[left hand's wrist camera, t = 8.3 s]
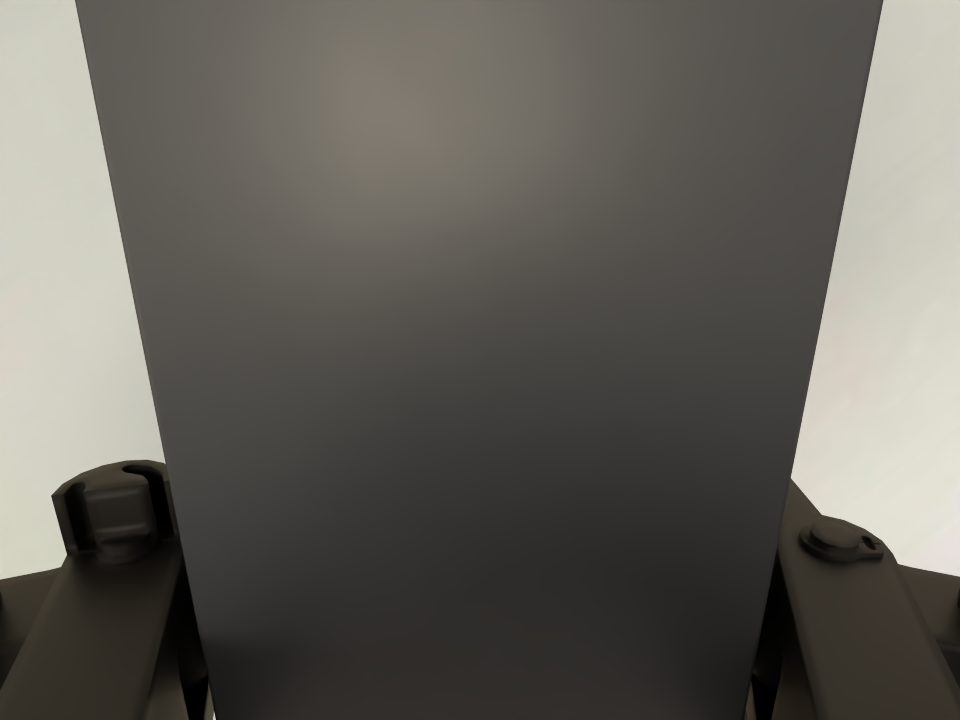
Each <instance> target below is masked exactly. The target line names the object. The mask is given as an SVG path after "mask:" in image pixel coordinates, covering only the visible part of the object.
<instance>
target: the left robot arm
mask: <svg viewBox="0 0 960 720" xmlns="http://www.w3.org/2000/svg"><path fill="white" fill-rule="evenodd" d="M51 497H52V500H53V504H54V508H55V512H56V515H57V519H58V523H59V526H60V530H61V534H62V537H63V541H64V545H65V548H66V552H67V556H66V558H65V560H64V562H63V564H62V566H61V567H60V568H56V569H52V570H48V571H43V572H37V573H32V574H27V575H22V576H17V577H12V578H7V579H2V580H0V720H213V715H214V707H213V702H212V697H211V692H210V687H209V682H208V677H207V671H206V666H205V661H204V656H203V651H202V646H201V641H200V636H199V631H198V625H197V620H196V615H195V610H194V605H193V600H192V595H191V590H190V585H189V579H188V574H187V569H186V564H185V559H184V554H183V549H182V544H181V539H180V533H179V528H178V523H177V518H176V513H175V508H174V503H173V498H172V493H171V487H170V482H169V477H168V472H167V467H166V464H164V463H161V462H156V461H150V460H130V461H122V462H117V463H112V464H107V465H103V466H100V467H97V468H95V469H92V470H89V471H86V472H83V473H81V474H79V475H77V476H76V477H74V478H72V479H70V480H69V481H67V482H65V483H64V484H62V485H61V486H60V487H59V488H58V489H57V490H56V491H55V492H54V493H53V494H52V495H51ZM744 720H960V577H958V576H953V575H948V574H943V573H938V572H932V571H927V570H922V569H917V568H912V567H908V566H904V565H900V564H898V563H897V561H896V559H895V557H894V555H893V554H892V552H891V551H890V550H889V549H888V547H887V546H886V545H885V544H884V542H883V541H882V540H880V539H879V538H877V537H876V536H874V535H873V534H871V533H870V532H868V531H867V530H865V529H863V528H861V527H859V526H856V525H854V524H852V523H849V522H847V521H845V520H841V519H837V518H832V517H828V516H824V515H821V513H820V512H819V511H818V510H817V509H816V508H815V506H814V505H813V504H812V503H811V502H810V500H809V499H808V498H807V497H806V496H805V495H804V493H803V492H802V491H801V490H800V489H799V487H798V486H797V485H796V484H795V483H794V482H793V480H792V479H791V478H790V483H789V489H788V494H787V499H786V504H785V509H784V514H783V519H782V525H781V530H780V535H779V540H778V545H777V550H776V556H775V561H774V566H773V571H772V576H771V581H770V586H769V592H768V597H767V602H766V607H765V612H764V617H763V622H762V628H761V633H760V638H759V643H758V648H757V653H756V659H755V664H754V669H753V674H752V679H751V684H750V689H749V695H748V700H747V705H746V710H745V715H744Z"/></svg>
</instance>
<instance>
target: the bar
mask: <svg viewBox="0 0 960 720" xmlns="http://www.w3.org/2000/svg"><path fill="white" fill-rule="evenodd" d="M75 2H76V7H77V12H78V17H79V23H80V28H81V33H82V38H83V43H84V48H85V53H86V58H87V63H88V68H89V74H90V79H91V84H92V89H93V94H94V99H95V104H96V109H97V114H98V120H99V125H100V130H101V135H102V140H103V145H104V150H105V155H106V160H107V166H108V171H109V176H110V181H111V186H112V191H113V196H114V201H115V206H116V212H117V217H118V222H119V227H120V232H121V237H122V242H123V247H124V252H125V258H126V263H127V268H128V273H129V278H130V283H131V288H132V293H133V298H134V304H135V309H136V314H137V319H138V324H139V329H140V334H141V339H142V344H143V350H144V355H145V360H146V365H147V370H148V375H149V380H150V385H151V390H152V395H153V401H154V406H155V411H156V416H157V421H158V426H159V431H160V436H161V441H162V447H163V452H164V457H165V462H166V467H167V472H168V477H169V482H170V487H171V493H172V498H173V503H174V508H175V513H176V518H177V523H178V528H179V533H180V539H181V544H182V549H183V554H184V559H185V564H186V569H187V574H188V579H189V585H190V590H191V595H192V600H193V605H194V610H195V615H196V620H197V625H198V631H199V636H200V641H201V646H202V651H203V656H204V661H205V666H206V671H207V677H208V682H209V687H210V692H211V697H212V702H213V707H214V712H215V717H216V720H744V715H745V710H746V705H747V700H748V695H749V689H750V684H751V679H752V674H753V669H754V664H755V659H756V653H757V648H758V643H759V638H760V633H761V628H762V622H763V617H764V612H765V607H766V602H767V597H768V592H769V586H770V581H771V576H772V571H773V566H774V561H775V556H776V550H777V545H778V540H779V535H780V530H781V525H782V519H783V514H784V509H785V504H786V499H787V494H788V489H789V483H790V478H791V473H792V468H793V463H794V458H795V453H796V447H797V442H798V437H799V432H800V427H801V422H802V416H803V411H804V406H805V401H806V396H807V391H808V386H809V380H810V375H811V370H812V365H813V360H814V355H815V349H816V344H817V339H818V334H819V329H820V324H821V319H822V313H823V308H824V303H825V298H826V293H827V288H828V283H829V277H830V272H831V267H832V262H833V257H834V252H835V246H836V241H837V236H838V231H839V226H840V221H841V216H842V210H843V205H844V200H845V195H846V190H847V185H848V179H849V174H850V169H851V164H852V159H853V154H854V149H855V143H856V138H857V133H858V128H859V123H860V118H861V113H862V107H863V102H864V97H865V92H866V87H867V82H868V76H869V71H870V66H871V61H872V56H873V51H874V46H875V40H876V35H877V30H878V25H879V20H880V15H881V10H882V4H883V0H75Z"/></svg>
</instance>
